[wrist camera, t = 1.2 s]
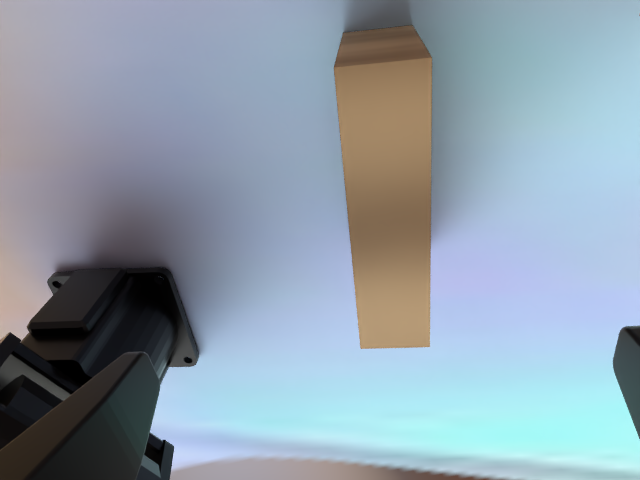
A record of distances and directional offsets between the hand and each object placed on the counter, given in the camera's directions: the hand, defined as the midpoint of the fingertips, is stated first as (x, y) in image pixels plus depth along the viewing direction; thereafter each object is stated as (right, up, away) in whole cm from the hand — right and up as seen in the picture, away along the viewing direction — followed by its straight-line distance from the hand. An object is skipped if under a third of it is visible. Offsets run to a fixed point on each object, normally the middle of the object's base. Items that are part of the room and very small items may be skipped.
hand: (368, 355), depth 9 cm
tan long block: (+2, +6, +11) cm, 12 cm away
